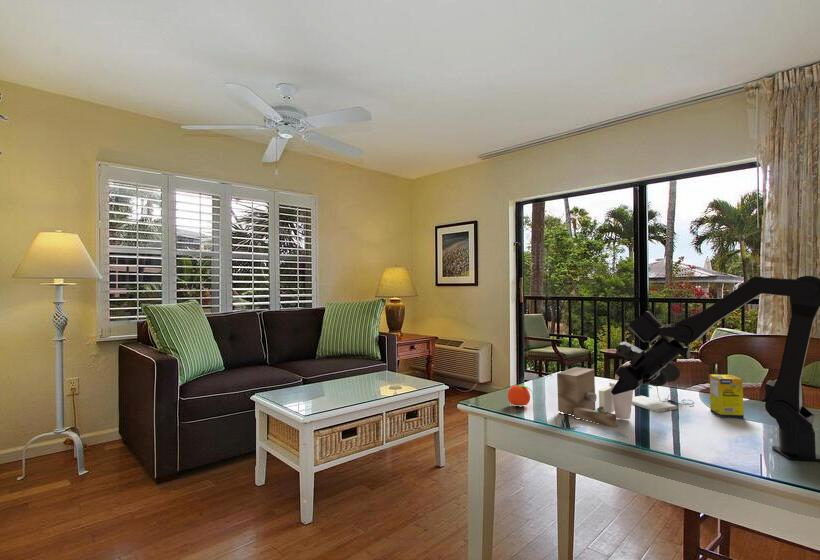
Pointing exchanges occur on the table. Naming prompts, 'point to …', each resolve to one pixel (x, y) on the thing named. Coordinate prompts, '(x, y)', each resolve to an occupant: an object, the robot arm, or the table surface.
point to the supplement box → (726, 396)
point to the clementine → (519, 395)
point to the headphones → (667, 377)
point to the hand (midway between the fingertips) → (616, 391)
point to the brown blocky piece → (581, 396)
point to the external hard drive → (652, 404)
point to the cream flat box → (606, 400)
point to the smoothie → (622, 402)
